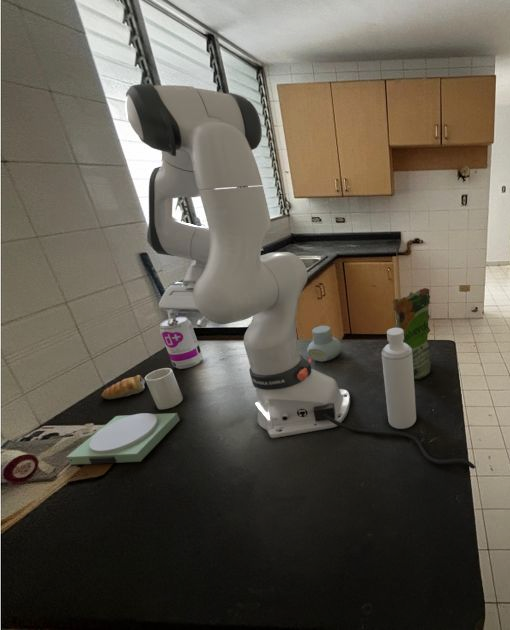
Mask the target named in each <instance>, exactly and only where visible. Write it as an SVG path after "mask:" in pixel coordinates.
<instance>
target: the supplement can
mask: <svg viewBox="0 0 510 630" xmlns="http://www.w3.org/2000/svg"><path fill="white" fill-rule="evenodd" d="M168 320H169V318H168V319H165V320H163V321H161V322H160V326H159V332H160V335H161V338H162V341H163V342H164V346H165V347H166V351H167V354H168V357H169V358H170V362H171V365H172V367H174V368H176V369H179V370H181V369H188V368H192V367H194V366H197V365H198V364H200V363H201V362H202V360H203V357H204V356H203V353H202V350H201V347H200V345H199V342H198V339H197V336H196V332H195V330H194V327H193V324H192V322H191V320H189V319H188V317H187V316H176V320H177V321H178V323H177V326H169V325H168V324H167V323H168Z"/></svg>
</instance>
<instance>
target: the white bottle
mask: <svg viewBox="0 0 510 630" xmlns="http://www.w3.org/2000/svg"><path fill="white" fill-rule="evenodd" d="M386 338H387V341H388V344H386V345H385V346H383V348H382V349H381V352H380V353H381V362H382V372H383V380H384V381H383V382H384V392H385V401H386V413H387V421H388V423H389V425H390V426H391V427H392V428H394V429H397V430H405V429H409V428H410V427H412V426H413V425H414V424H415V423H416V421H417V406H416V389H415V377H414V372H413V357H412V350H411V349H412V348H411V347H410V346H409V345H407V344H406V343H403V340H404V331H403V329H401V328H395V327H391V328H389V329H387V330H386Z"/></svg>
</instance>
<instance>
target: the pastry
mask: <svg viewBox="0 0 510 630" xmlns="http://www.w3.org/2000/svg"><path fill="white" fill-rule="evenodd" d="M145 384H146V381H145V378H143V377H142V376H141V375H140V374H137V375H136V376H132V377H127V378H124V379H122V380H120V381H117V382H116V383H114V384H112V385H110V386H108V387H107V388H105V389H104V390H103V392H101V394H100V396H101V397H102V398H103V399H106V400H116V399H120V398H124V397H125V398H126V397H129V396H131V395H137V394H140V393H141V392H143V391H144V390H145Z"/></svg>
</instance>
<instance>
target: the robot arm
mask: <svg viewBox="0 0 510 630" xmlns="http://www.w3.org/2000/svg"><path fill="white" fill-rule="evenodd" d="M125 113H126V118H127V120H128V122H129V125H130V127H131V128H132V130H133V131H134V132H135V133H136V135H137V136H138V138H139V139H140V141H141V142H142V143H144V144H145V145H147V146H148V147H150V148H151V149H154V150H157V151H160V152H161V155H162V157H161V158H162V164H161V165H157V166H155V167H154V168H153V170H152V172H151V173H150V176H149V181H148V226H147V232H146V239H147V240H146V241H147V243H148V245H149V246H150V247H151V248H152V250H153V251H154V252H155V253H156V254H158V255H164V256H170V257H171V256H172V257H177V258H183V259H187V260H191V261H192V262H191V263H190V265H189V266H188V267H187V270H186V273H185V275H184V278H183V280H182V281H181V282H179V281H175V282H174V283H172V284H170V285H169V286H168V287H167V288H166V289H165V291H164V292H163V294H162V295H161V298H160V300H159V302H158V308H159V309H160V310H162V311H164V312H167V318H168V319H169V320H168V319H167V320H168V323H167V324H168V325H169V326H177V323H178V321H177V320H176V317H178V315H179V313H183V314H184V313H185V314H188V313H189V314H200V315H202V318H201V319H197V322H196V326H197V327H198V328H206V327H207V323H208V322H211V323H214V324H217V325H229V324H233V323H236V322H237V323H238V322H241V321H245V320H248V319H250V318H251V321H250V324H249V326H248V327H247V329H246V331H245V333H244V335H243V346H244V349H245V353H246V356H247V360H248V364H249V369H248V370H249V371H248V372H249V374H250V379H251V382H252V385H253V387H254V388H255V393H256V399H257V402H255V406H256V407H257V418H256V420H257V423H258V425H259V427H261V428H262V429H264V430H266V431H267V434H268V436H269V437H270V438H271V439H277V438H281V437H282V438H283V437H287V436H294V435H300V434H304V433H305V434H306V433H311V432H316V431H322V430H327V429H328V430H329V429H333V428H336V427H340V428H343V429H345V430H349V431H352V432H356V433H363V434H372V435H380V436H381V435H382V436H399V437H404V438H408V439H410V440H412V441H413V442H414V443H415V444H416V445H417V447H418V448H419V450H420V452H421V454H422V455H423V457H424V458H425V459H426V460H428V461H429V462H430V463H432V464H435V465H451V464H464V465H466V466H468V467H469V468H470V469H473V470H475V469H476V465H475V464H474V463H472V462H471V461H470V460H468V459H465V458H459V457H458V458H449V459H436V458H435V457H433V456H432V455H430V454H428V452H427V451H426V449H425V448H424V446H423V444H422V442H421V441H420V439H419V438H418V437H416V436H415V435H413V434H411V433H408V432H405V431H404V432H403V431H392V430H389V431H388V430H381V429H380V430H379V429H367V428H360V427H356V426H351V425H347V424H345V423H342V422H343V421H344V420H345V418H346V417H347V415H348V413H349V411H350V406H351V396H350V393H349V391H348V390H347V389H344V388H340V387H339V385H338V382H337V381H336V380H335V378H333V377H332V376H329V375H327V374H325V373H322V372H321V371H318V370H316V369H313V368H312V367H311V364H312V363H313V362H312V360H313V359H312V358H311V357H309V358H308V360H307V359H305V358H304V356H303V355H302V354H301V352H300V345H299V341H298V335H297V334H298V333H297V324H296V323H297V313H298V306H299V303H300V297H301V295H302V292H303V290H304V288H305V286H306V284H307V282H308V270H307V266H306V264H305V263H304V262H303V260H302V259H301V258H300V257H299V256H298V255H296V254H295V253H293V252H289V251H275V252H273V251H272V252H268V253H265V254H262V253H261V252H262V246H263V243H264V240H265V238H266V236H268V234H269V233H270V231H271V229H272V228H271V227H272V219H271V215H270V211H269V205H268V203H267V198H266V194H265V189H264V186H263V181H262V178H261V174H260V171H259V167H258V164H257V161H256V159H255V156H254V153H253V150H255V149H257V148H258V147H259V145H260V143H261V141H262V136H263V133H262V131H263V130H262V122H261V118H260V115H259V112H258V110H257V108H256V106H255V105H254V104H253V103H252V102H251V100H250V99H248V98H247V97H245V96H243V95H240V94H237V93H233V92H228V93H225V92H220V91H217V90H211V89H206V88H205V89H204V88H199V87H198V88H197V87H194V86H191V85H177V84H176V85H174V84H171V85H168V84H165V85H163V84H161V85H153V84H152V83H139V84H134V85H130V86H129V88H128V89H127V91H126V92H125ZM199 197H200V199H201V203H202V207H203V211H204V214H205V218H206V222H207V227H204V226H200V225H195V224H192V223H187V222H183V221H181V220H178V219H176V218H175V217H173V204H174V203H173V201H174V199H178V198H199ZM261 254H262V255H261Z"/></svg>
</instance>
